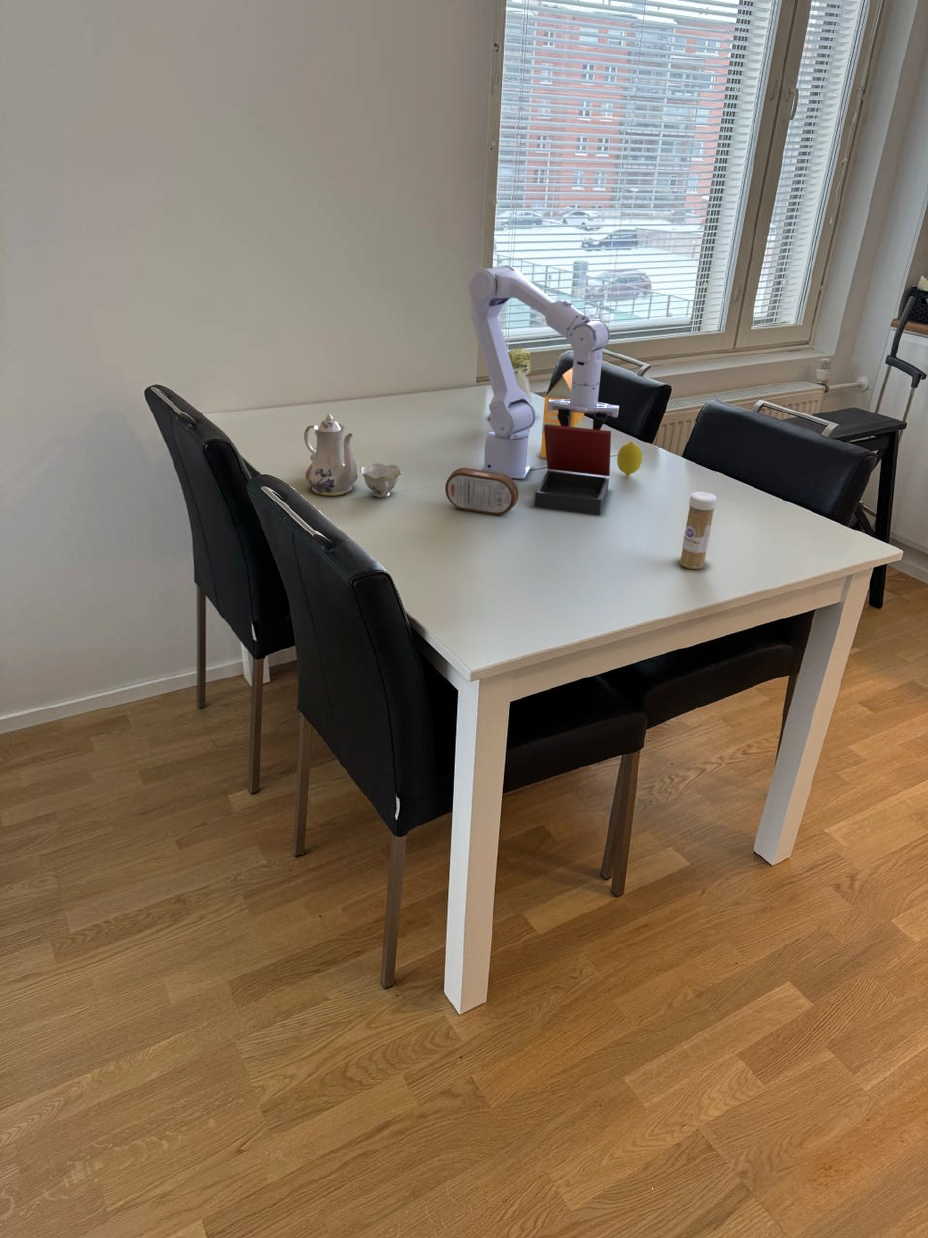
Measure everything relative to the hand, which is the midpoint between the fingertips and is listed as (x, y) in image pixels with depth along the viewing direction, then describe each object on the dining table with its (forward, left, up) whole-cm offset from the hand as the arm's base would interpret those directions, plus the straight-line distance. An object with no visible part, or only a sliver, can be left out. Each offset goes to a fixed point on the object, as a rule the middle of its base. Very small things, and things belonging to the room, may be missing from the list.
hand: (579, 446), depth 194 cm
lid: (0, -3, -1) cm, 3 cm away
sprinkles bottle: (+26, -31, -10) cm, 42 cm away
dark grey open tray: (0, -5, -10) cm, 11 cm away
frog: (-24, +50, -10) cm, 56 cm away
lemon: (+10, +14, -10) cm, 20 cm away
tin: (-17, -18, -10) cm, 27 cm away
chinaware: (-48, -14, -10) cm, 51 cm away
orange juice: (-7, +24, -10) cm, 27 cm away
